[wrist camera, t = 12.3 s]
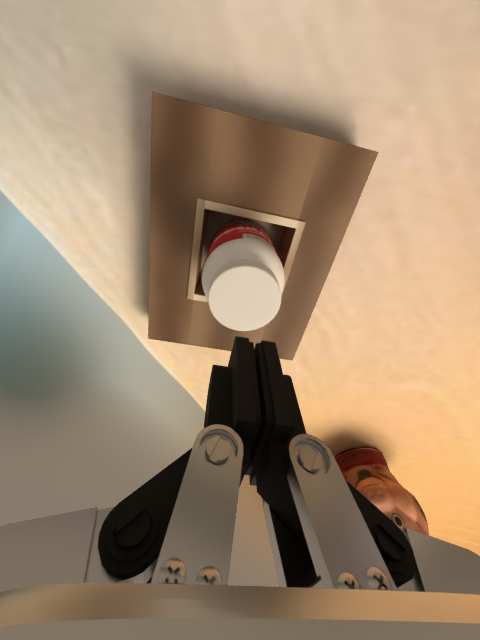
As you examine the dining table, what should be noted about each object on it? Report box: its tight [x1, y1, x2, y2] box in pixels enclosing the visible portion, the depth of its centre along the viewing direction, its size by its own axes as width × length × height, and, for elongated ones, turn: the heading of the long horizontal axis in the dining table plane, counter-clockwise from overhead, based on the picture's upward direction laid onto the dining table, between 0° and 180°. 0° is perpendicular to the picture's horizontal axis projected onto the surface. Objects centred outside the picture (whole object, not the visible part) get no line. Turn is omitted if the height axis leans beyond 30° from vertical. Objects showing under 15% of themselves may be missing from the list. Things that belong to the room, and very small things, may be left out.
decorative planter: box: [335, 448, 429, 536], centre depth 41 cm, size 20×12×14 cm, turn 30°
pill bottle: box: [202, 220, 285, 331], centre depth 20 cm, size 6×6×11 cm
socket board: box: [148, 92, 378, 360], centre depth 23 cm, size 16×20×4 cm
